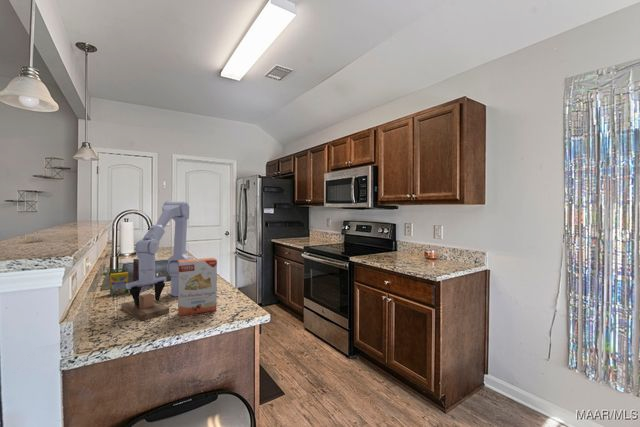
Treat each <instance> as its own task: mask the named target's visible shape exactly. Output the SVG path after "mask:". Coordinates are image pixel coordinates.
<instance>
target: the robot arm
mask: <svg viewBox="0 0 640 427" xmlns="http://www.w3.org/2000/svg"><path fill="white" fill-rule="evenodd" d="M189 219H190V205H189V203H188V202H186V201H168V200H167V201H165V202H164V203H163V205H162V206H161V214H160V216H159V218H158V220H157V221H156V224H153V225H151V226H150V227H149V229H148V230H147V232H146V234H144V237H142V239H139V240H138V241H137V242H136V244H135V247H134V252H135V254H136V256H137V259H138V258H139V280H138V281H134V282H133V281H131V282H129V283H126V288H127V289H128V290H129V293H130V294H131V297H132V299H133V301H134V303H135V305H136V306H139V295H141V292H140V289H138V287H140V286H145V285H150V284H154V288H153V289H154V301H156V302H159V301H160V298H161V294H162V292H163V290H164V288H165V286H166V282H167V276H159V277H157V276H156V253H157V252H158V250H159V249H160V248H159V246H160V241H161V239H162V237H163V236H164V235H165V232H166V231H165V227H166V226H167V225H168V224H169V222H170V221H171V220H173V221H174V235H173V236H174V239H173V240H174V241H173V254H172V255H171V256H170V257H168V260H167V264H166V272H167V273H168V275H169V276H170V291H168V292H167V295H170V296H173V297H178V260H187V259H192V258H191V257H190V256H188V255H187V254H186V251H187V250H186V249H187V229H188V220H189Z"/></svg>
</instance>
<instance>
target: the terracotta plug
mask: <svg viewBox="0 0 640 427" xmlns="http://www.w3.org/2000/svg"><path fill="white" fill-rule="evenodd" d="M154 301H155V294H152V292H151V293H150V292H148V293H145V294H144V293H143V294H140V295H139V309H143V308H147V307H151V306H154Z"/></svg>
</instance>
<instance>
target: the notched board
mask: <svg viewBox="0 0 640 427" xmlns="http://www.w3.org/2000/svg"><path fill="white" fill-rule="evenodd" d="M155 301H156V300H154V306H151V307H147V308H143V309H139V306H136V305H135V303H134V300H131V301H127V302H122V303H120V308H121V309H122V310H123V311H125V312H126V313H128V314H130V315H131V316H133V317H135V318H136V319H137V320H140V321H144V320H149V319H152V318H155V317H156V318H157V317H159V316H162V315H167V314H170V307H169V306H166V305H164V304H162V303H161V304H155Z"/></svg>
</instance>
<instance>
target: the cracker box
mask: <svg viewBox="0 0 640 427" xmlns="http://www.w3.org/2000/svg"><path fill="white" fill-rule="evenodd" d="M177 261H178V296H177V298H178V299H177V313H178V316H179V317H181V316H186V315H187V316H188V315H194V314H200V313H209V312H216V311H217V303H218V302H217V299H218V298H217V288H218V284H217V283H218V281H217V280H218V279H217V278H218V269H217V268H218V260H217V259H216V257H206V258H191V259H187V260H177Z"/></svg>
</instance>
